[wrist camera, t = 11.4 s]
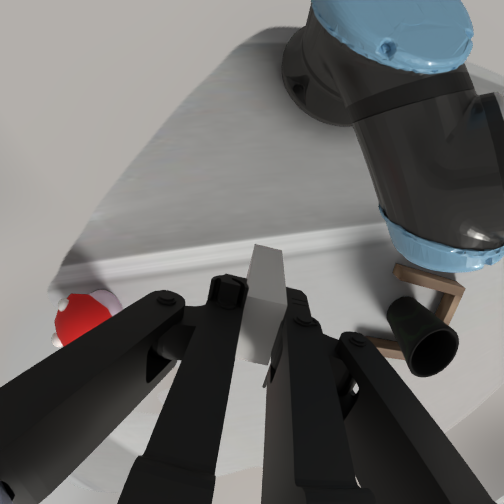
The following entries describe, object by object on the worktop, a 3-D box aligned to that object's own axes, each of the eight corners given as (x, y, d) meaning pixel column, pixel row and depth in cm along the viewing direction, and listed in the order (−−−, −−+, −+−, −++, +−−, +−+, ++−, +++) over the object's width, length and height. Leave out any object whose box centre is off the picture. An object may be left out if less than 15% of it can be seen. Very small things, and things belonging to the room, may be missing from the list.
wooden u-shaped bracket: (396, 263, 42) (403, 270, 39) (456, 281, 42) (465, 288, 39) (361, 343, 46) (366, 354, 43) (421, 353, 46) (428, 363, 43)
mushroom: (70, 298, 47) (30, 330, 35) (104, 262, 44) (61, 293, 33) (109, 343, 49) (78, 384, 37) (148, 314, 46) (117, 357, 35)
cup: (416, 281, 42) (454, 316, 31) (428, 318, 44) (462, 357, 32) (374, 305, 44) (402, 348, 32) (388, 341, 45) (415, 386, 34)
